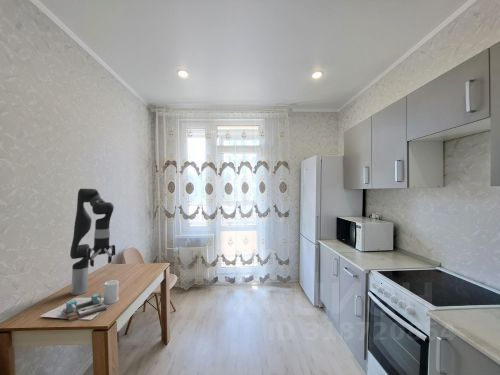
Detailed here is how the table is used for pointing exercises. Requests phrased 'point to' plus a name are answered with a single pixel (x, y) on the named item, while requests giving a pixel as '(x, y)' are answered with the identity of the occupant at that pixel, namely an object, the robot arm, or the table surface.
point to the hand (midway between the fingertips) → (100, 264)
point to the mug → (111, 292)
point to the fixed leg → (96, 299)
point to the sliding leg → (71, 306)
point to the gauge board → (84, 310)
